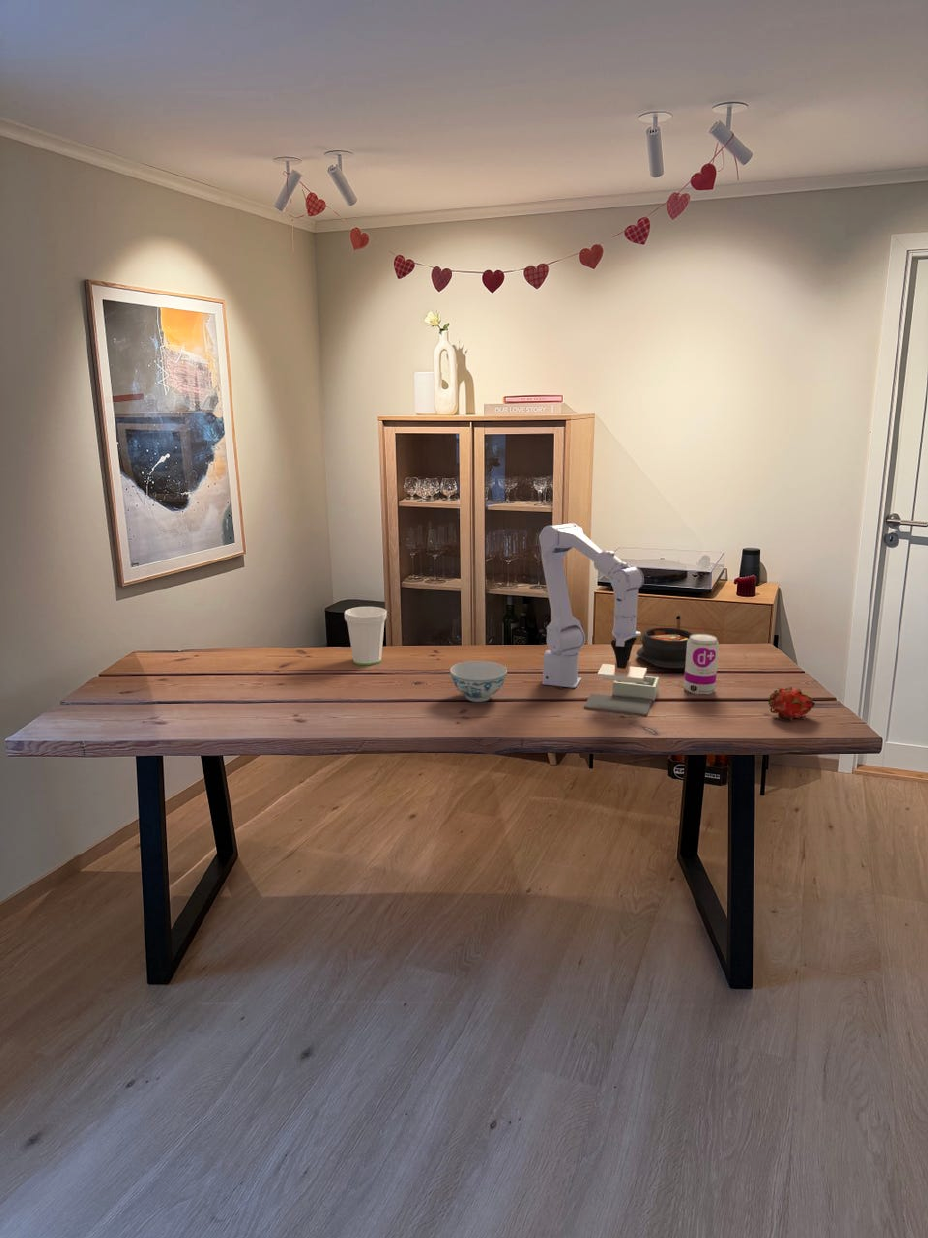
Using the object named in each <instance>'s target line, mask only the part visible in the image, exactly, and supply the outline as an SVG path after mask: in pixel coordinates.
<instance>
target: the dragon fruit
mask: <svg viewBox="0 0 928 1238" xmlns="http://www.w3.org/2000/svg"><path fill="white" fill-rule="evenodd" d="M815 703H816V702H814V699H813V698H812V697H811V696H809V695H808V694H805V693H802V689H801V688H797V689H793V687H792V686H790V687H787V688H783V687H778V688H777V689H776V690H774V691H773V693H771V694H770V695H769V700H768V705H769V707H770V709H769V710H770V712H771V713H772V714H778V717H779V718H782V717H783V718H784V717H785V718H786V719H788V720H789V721H792V720H793V719H799V720H802V719H805V718H806V717H807V715H806V714H808V713H809V712H810V711H812V709H813V708H814V707H815Z"/></svg>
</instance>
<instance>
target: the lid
mask: <svg viewBox="0 0 928 1238" xmlns="http://www.w3.org/2000/svg"><path fill="white" fill-rule="evenodd" d="M631 661H632V660H631V659H629V660H628V662H627V666H626V668H625V669H622V668H617V664H616V661H615V662H614V664H609V663H602V665H601V667H600V669H599V670H598V672H597V674H596V676H597V678H600V679H602V680H606V681H613V682H614V681H623V682H633V683H638V682H643V679H644V677H645V676H647V675H646V674H647V671H648V670H647V669H648V668H646V667H639V666H638V667H637V666H631Z"/></svg>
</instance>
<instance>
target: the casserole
mask: <svg viewBox="0 0 928 1238" xmlns="http://www.w3.org/2000/svg"><path fill="white" fill-rule="evenodd" d="M693 634H694V633H693V632H690V631H689V630H685V629H681V628H675V627H654V628H649V629H646V630H645V631H644V632H643V634H642V636H641V637H640V638H639V640H640V642H641V645H642V646H641V647H640V648H639V649H638V650H637V651H636V655H637V657H638V658H640V659H642V660H643V661H646V662H649V663H651V664H652V665H653V666H656V667H658V668H665V669H685V665H686V652H687V641H688V640H689V638H690V636H691V635H693Z"/></svg>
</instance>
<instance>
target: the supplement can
mask: <svg viewBox="0 0 928 1238" xmlns="http://www.w3.org/2000/svg"><path fill="white" fill-rule="evenodd" d="M719 649H720V643H719V640H718V638H717V636H714V635H711V634H707V633H693V635H691V636H690V638H689V640H688V641H687V652H686V665H685V668H684V682H683V688H684V689H685V690H686V691H687V690H688V691H689V692H688V691H687V692H688V693H690V692H692V693H691V694H693V693H696V694H695V695H698V694H707V695H711V694H712V693H713V692H715V691H716V683H717V674H718V673H717V672H718V662H719V661H718V660H719Z"/></svg>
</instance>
